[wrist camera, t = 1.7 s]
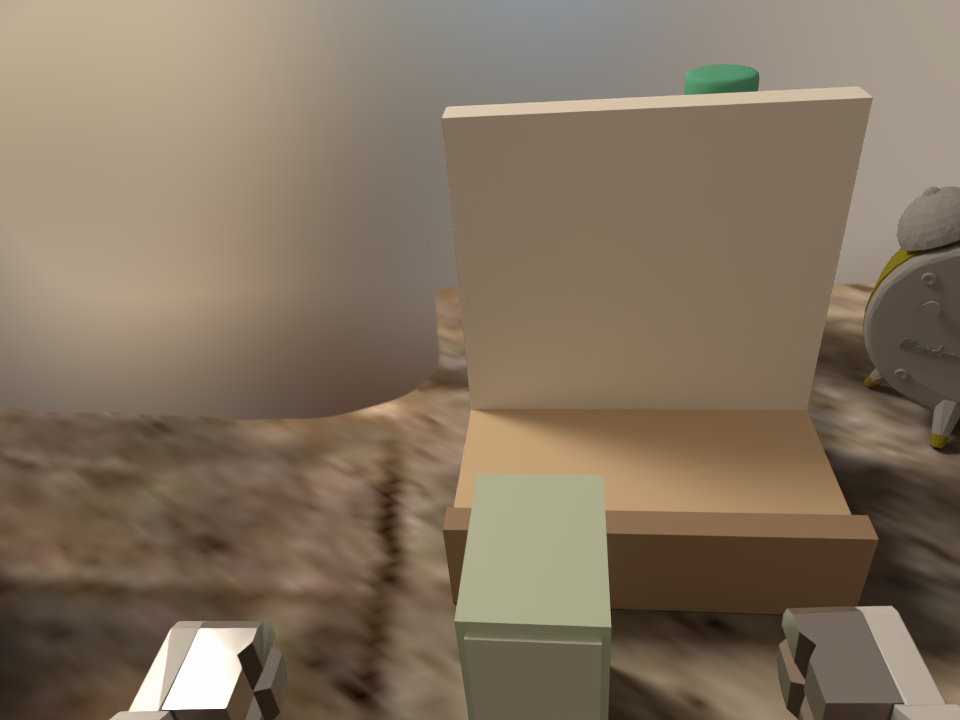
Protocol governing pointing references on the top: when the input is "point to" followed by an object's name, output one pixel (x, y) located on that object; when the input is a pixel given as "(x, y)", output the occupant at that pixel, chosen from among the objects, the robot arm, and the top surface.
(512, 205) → the wall board
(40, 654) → the top surface
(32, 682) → the top surface
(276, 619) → the top surface
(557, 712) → the cabinet
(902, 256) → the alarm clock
